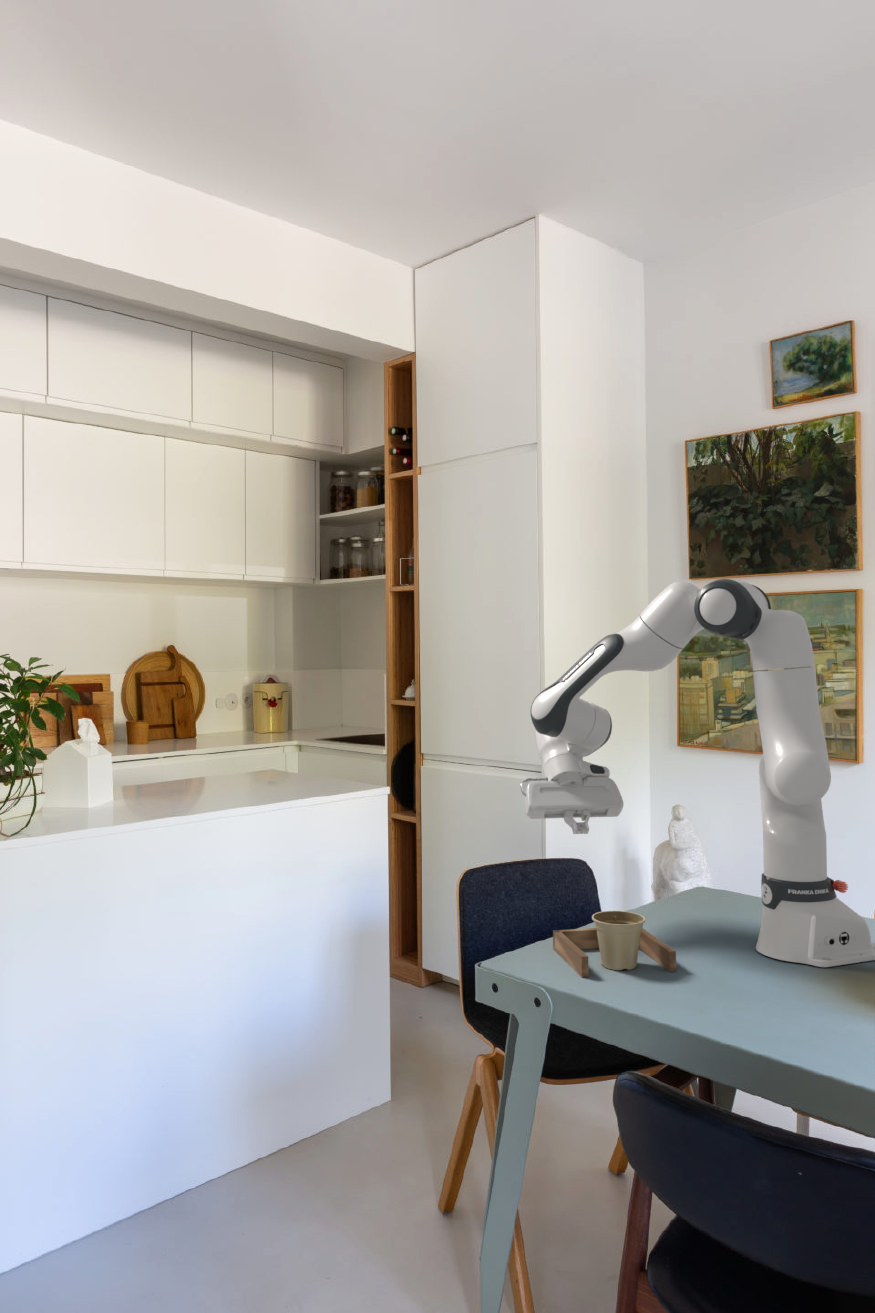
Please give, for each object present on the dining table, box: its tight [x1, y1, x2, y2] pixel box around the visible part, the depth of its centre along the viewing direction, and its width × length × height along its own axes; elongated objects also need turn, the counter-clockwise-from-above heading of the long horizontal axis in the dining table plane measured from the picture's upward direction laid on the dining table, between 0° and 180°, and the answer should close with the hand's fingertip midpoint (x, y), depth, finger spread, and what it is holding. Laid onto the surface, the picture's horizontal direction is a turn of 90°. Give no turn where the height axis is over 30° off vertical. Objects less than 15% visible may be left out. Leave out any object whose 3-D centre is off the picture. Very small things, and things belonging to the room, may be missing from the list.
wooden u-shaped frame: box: [552, 927, 677, 978], centre depth 169 cm, size 17×17×4 cm
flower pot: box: [591, 910, 646, 971], centre depth 166 cm, size 9×9×9 cm
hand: (581, 832), depth 186 cm, fingers closed
